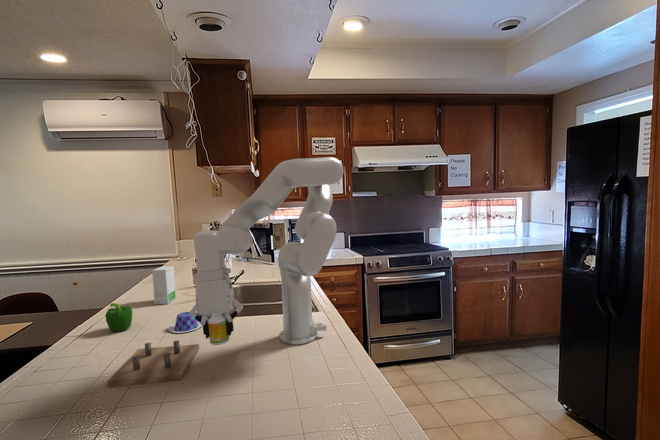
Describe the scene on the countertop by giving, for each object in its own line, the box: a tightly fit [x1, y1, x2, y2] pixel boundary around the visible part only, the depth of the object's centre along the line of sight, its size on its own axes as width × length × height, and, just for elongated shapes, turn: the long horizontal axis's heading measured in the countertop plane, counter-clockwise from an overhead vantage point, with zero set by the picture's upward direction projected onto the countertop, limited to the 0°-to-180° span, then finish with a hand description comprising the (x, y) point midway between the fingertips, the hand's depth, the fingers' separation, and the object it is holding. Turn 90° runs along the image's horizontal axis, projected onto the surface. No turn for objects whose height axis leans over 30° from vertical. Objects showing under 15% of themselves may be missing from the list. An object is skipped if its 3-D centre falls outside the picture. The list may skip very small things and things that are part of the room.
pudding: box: [167, 311, 203, 334], centre depth 126 cm, size 12×12×5 cm
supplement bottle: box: [207, 313, 230, 346], centre depth 100 cm, size 5×5×10 cm
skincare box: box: [151, 265, 177, 305], centre depth 157 cm, size 8×7×16 cm
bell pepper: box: [105, 302, 133, 332], centre depth 125 cm, size 8×8×10 cm
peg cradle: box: [107, 340, 200, 387], centre depth 98 cm, size 18×18×5 cm
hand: (219, 334), depth 100 cm, fingers closed on supplement bottle, 5 cm apart
